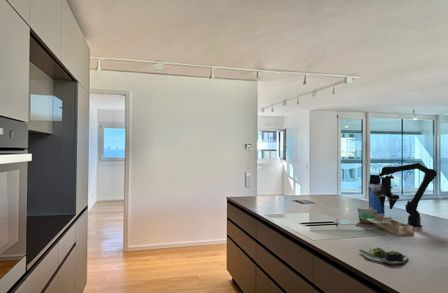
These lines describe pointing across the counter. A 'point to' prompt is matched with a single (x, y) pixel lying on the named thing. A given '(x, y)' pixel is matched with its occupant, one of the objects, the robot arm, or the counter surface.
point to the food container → (366, 215)
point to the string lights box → (375, 199)
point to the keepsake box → (396, 227)
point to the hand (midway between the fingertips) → (386, 207)
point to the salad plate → (385, 256)
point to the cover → (378, 219)
